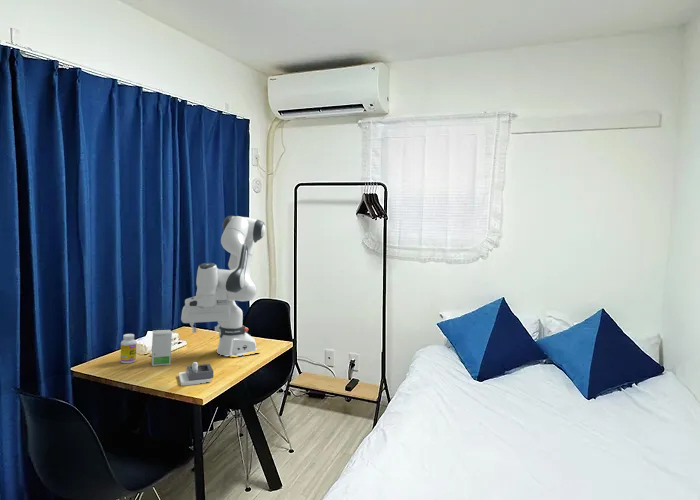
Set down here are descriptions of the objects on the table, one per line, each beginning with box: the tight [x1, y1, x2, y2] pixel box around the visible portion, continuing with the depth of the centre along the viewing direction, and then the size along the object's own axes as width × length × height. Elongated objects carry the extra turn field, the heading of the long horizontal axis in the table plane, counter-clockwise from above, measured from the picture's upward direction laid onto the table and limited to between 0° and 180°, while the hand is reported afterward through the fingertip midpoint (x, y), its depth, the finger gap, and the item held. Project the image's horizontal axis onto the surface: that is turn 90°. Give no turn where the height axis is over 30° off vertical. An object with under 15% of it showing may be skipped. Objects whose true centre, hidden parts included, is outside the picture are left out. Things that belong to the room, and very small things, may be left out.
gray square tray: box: [185, 363, 214, 381], centre depth 193 cm, size 10×10×3 cm
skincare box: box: [151, 329, 173, 367], centre depth 208 cm, size 8×7×16 cm
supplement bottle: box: [119, 333, 137, 364], centre depth 208 cm, size 7×7×13 cm
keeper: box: [178, 361, 212, 387], centre depth 192 cm, size 12×12×8 cm
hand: (205, 331), depth 192 cm, fingers open, 8 cm apart
